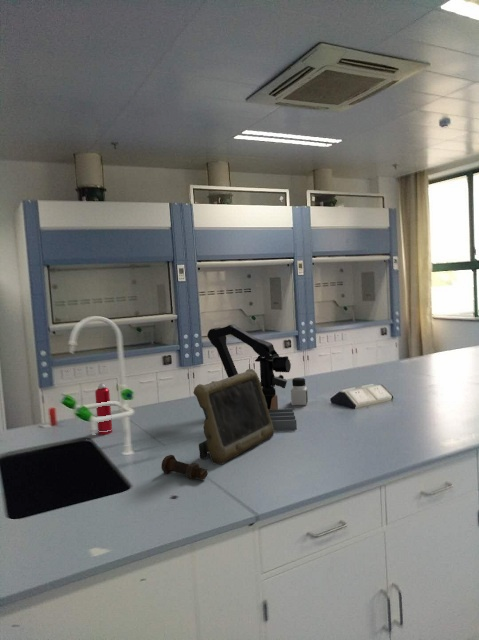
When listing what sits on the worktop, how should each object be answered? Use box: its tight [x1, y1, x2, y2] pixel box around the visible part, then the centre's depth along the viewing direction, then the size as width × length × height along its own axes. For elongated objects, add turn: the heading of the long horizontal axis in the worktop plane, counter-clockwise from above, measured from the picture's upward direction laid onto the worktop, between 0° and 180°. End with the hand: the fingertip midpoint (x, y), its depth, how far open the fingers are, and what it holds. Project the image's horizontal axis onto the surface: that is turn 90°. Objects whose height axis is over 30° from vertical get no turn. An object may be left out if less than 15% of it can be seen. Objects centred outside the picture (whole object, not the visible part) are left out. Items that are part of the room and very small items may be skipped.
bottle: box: [94, 383, 113, 436], centre depth 181 cm, size 6×5×20 cm
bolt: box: [161, 454, 209, 481], centre depth 134 cm, size 6×5×15 cm
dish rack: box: [268, 408, 298, 431], centre depth 181 cm, size 14×17×4 cm
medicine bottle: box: [290, 377, 309, 406], centre depth 210 cm, size 7×7×12 cm
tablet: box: [193, 368, 275, 465], centre depth 156 cm, size 33×14×25 cm, turn 148°
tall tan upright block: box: [270, 394, 279, 409], centre depth 196 cm, size 8×3×8 cm, turn 88°
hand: (268, 406), depth 196 cm, fingers open, 9 cm apart
